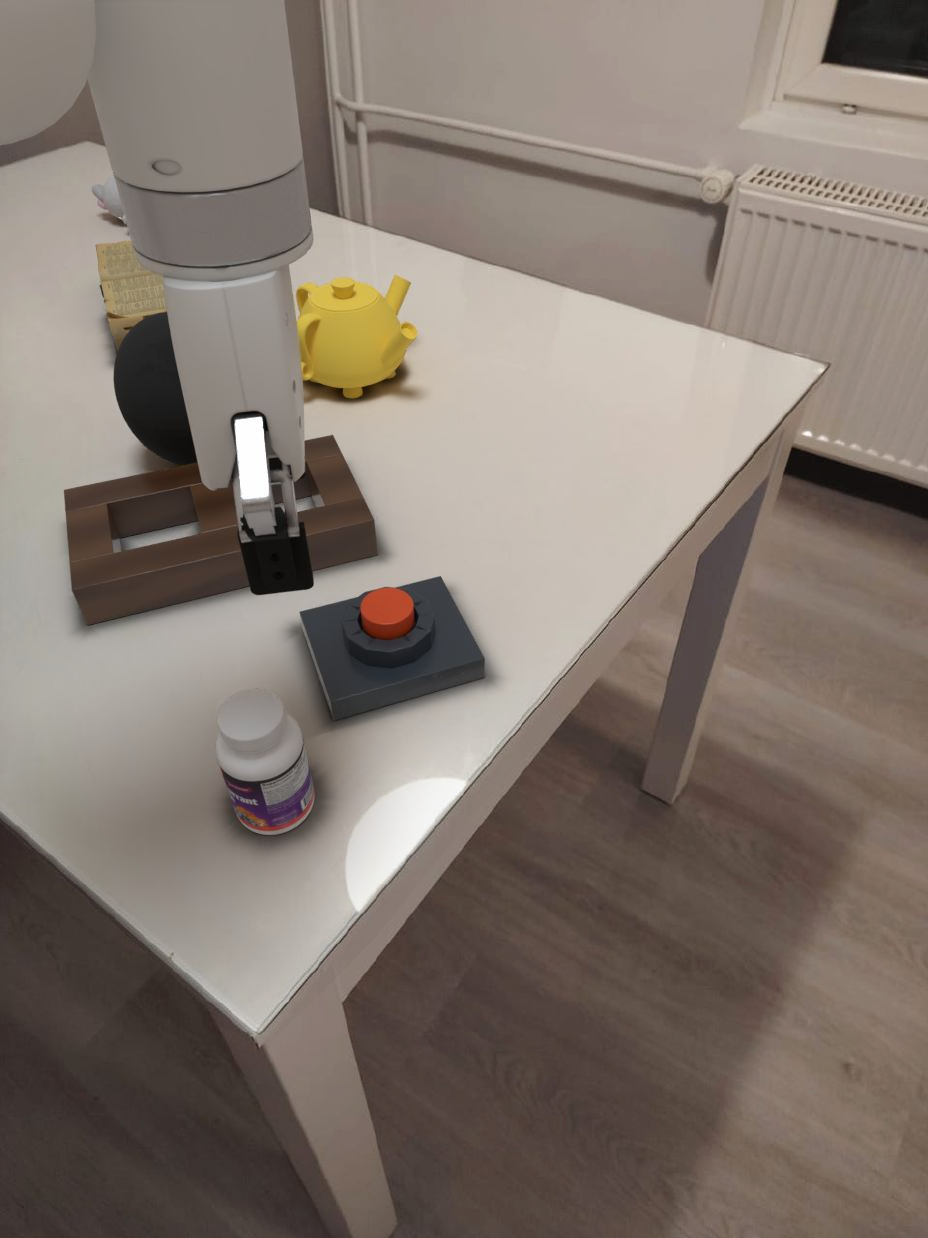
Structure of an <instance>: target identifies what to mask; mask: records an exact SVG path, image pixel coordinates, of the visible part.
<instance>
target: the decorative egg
mask: <svg viewBox="0 0 928 1238" xmlns="http://www.w3.org/2000/svg"><path fill="white" fill-rule="evenodd" d="M112 378H113V389H114V394H115V399H116V403H117V406H118V410H119V411H120V413H121V416H122V418H123V420H124V422H125V423H126V425H127V427H128V429H129V430H130V431H131V432H132V434H133V435H134V436H135V438H136V439H137V440H138V441H139V442H140V443H141V444H142V446H144V447H145V448H146V449H147V450H149V451H150V452H152V453H153V454H154V455H156V456H157V457H159V458H160V459H163V460H165V461H167V462H170V463H173V464H176V465H179V466H182V465H187V464H192V463H197V462H198V461H197V457H196V452H195V447H194V442H193V438H192V433H191V429H190V424H189V419H188V415H187V410H186V406H185V401H184V397H183V392H182V388H181V383H180V378H179V374H178V369H177V364H176V359H175V354H174V349H173V344H172V338H171V332H170V327H169V321H168V314H167V312H161V313H157V314H153V315H151V316H149V317H146V318H144V319H143V320H141V321H140V322H138V323H137V324H136V325H135V326H133V327H132V329H131V330H130V331H129V332H128V333H127V334H126V336H125V337H124V339H123V341H122V342H121V344H120V347H119V349H118V352H117V355H116V354H115V358H114V366H113V377H112Z"/></svg>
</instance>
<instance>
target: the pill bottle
mask: <svg viewBox="0 0 928 1238" xmlns="http://www.w3.org/2000/svg"><path fill="white" fill-rule="evenodd" d="M216 722H217V726H218V731H219V732H218V734H217V737H216V741H215V748H214V749H215V757H216V761H217V763H218V766H219V769H220V772H221V775H222V778H223V781H224V784H225V787H226V790H227V792H228V795H229V798H230V802H231V804H232V806H233V809H234V813H235V815H236V817H237V818H238V820H239V821H240V823H241V824H242V826H244V827H245V828H246V829H248V830H249V831H251V832H253V833H257V834H259V835H265V836H275V835H276V836H277V835H280V834H284V833H287V832H289V831H292V830H293V829H295V828H297V827H298V826H299V825H300V824H302V823H303V822H304V821H305V820H306V819H307V817H308V816H309V815H310V813H311V811H312V809H313V806H314V803H315V798H316V797H315V796H316V795H315V787H314V782H313V781H314V780H313V778H312V773H311V767H310V764H309V759H308V755H307V749H306V745H305V740H304V736H303V733H302V729H301V727H300V725H299V723H298V722H297V721H296V719H295V718H294V716H293V715H291V714H289V713H288V712H286V710H285V707H284V704H283V702H282V699H280V697H279V696H278V695H277V694H275V693H274V692H272V691H270V690H267V689H262V688H249V689H244V690H240V691H238V692H236V693H234V694H233V695H231V696H230V697H228V698H227V699H225V701H224V702H223V703H222V705H221V706H220V707H219V710H218V713H217V716H216Z"/></svg>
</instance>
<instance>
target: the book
mask: <svg viewBox="0 0 928 1238" xmlns="http://www.w3.org/2000/svg"><path fill="white" fill-rule="evenodd" d="M94 247H95V248H96V249H95V250H96V251H95V252H96V257H97V269H98V275H99V278H100V284H99V289H100V292H101V296H102V297H103V299H104V300H103V302H104V305H105V311H106V316H107V321H108V326H109V329H110V330H109V331H110V333H111V335H112V341H113V346H114V351H115V356H116V355H117V352H118V349H119V347H120V344H121V342H122V341H123V339H124V337H125V336H126V334H127V333H128V332H129V331H130V330H131V329H132V327H133V326H135V325H136V324H137V323H138V322H140V321H141V320H143V319H144V318H146V317H149V316H151V315H153V314H157V313H161V312H167V308H166V301H165V293H164V285H163V277H162V276H161V275H159V274H156V273H153V272H151V271H149V270H147V269H146V268H144V267H143V266H141V264H140V263H139V262H138V261H137V259H136V257H135V253H134V250H133V246H132V241H131V240H123V241H118V242H109V243H107V242H106V243H96V244H95V246H94Z"/></svg>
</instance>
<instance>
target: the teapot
mask: <svg viewBox="0 0 928 1238" xmlns="http://www.w3.org/2000/svg"><path fill="white" fill-rule="evenodd" d="M411 284H412V282H410V281H409V280H408V279H405V278H404V277H401V276H400V275H396V274H394V276H393V278H392V280H391V282H390V285H389V288H388V289H387V292H386V294H385V296H383V295H382V294H381V292H380V291H379V290H378V289H377V288H376V287H374V286H372V285H371V284H368V283H366V282H363V281H362V282H361V281H355V279H354V278H352V277H347V276H339V277H335V278H334V279H332V280H331V281H330V282H329V283H326V284H325V283H324V284H323V285H321V286H319V285H318V284H316V283H314V282H305V283H302V284H301V285H299V286H298V287H297V289H296V291H295V299H296V303H297V307H298V311H299V315H298V317H297V319H296V321H297V329H298V337H299V346H300V355H301V367H302V379H303V381H310V382H312V383H317V384H321V385H324V386H327V387H332V388H338V389H342V395H343V396H344V397H345V398H346V399H357V398H360V397H361V396H362V395H363V394H364V391H363V387H367V386H371V385H375V384H377V383H380V382H382V381H384V380H389V379H392V378H394V377H395V376H396V375H397V373H396V370H397V368H398V367H399V366H400V365H401V364H402V362H403V360H404V359H405V356H406V353H407V348H408V347H409V346H410V345H411V344H412V343H413V342H414V341H415V339H416V338H417V337H418V334H419V333H418V329H417V327H416V326H415V325H414V324H413V323H411V322H410V321H403V322H400V320H399V317H398V316H399V313H400V311H401V309H402V306H403V303H404V301H405V299H406V296H407V294H408V292H409V290H410V287H411Z"/></svg>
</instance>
